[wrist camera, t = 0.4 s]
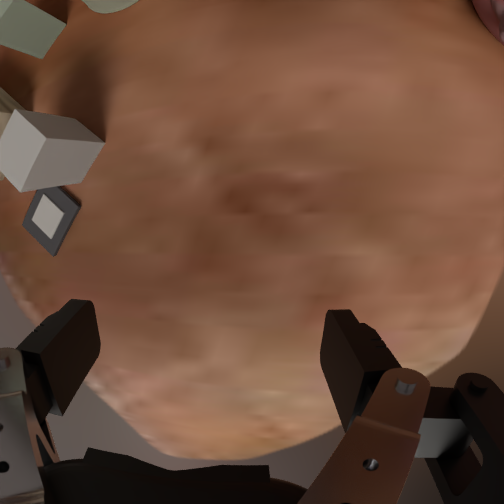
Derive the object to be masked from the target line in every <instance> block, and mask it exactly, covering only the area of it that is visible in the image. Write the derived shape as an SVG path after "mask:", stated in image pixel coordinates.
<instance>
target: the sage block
mask: <svg viewBox="0 0 504 504" xmlns="http://www.w3.org/2000/svg"><path fill="white" fill-rule="evenodd" d="M66 25H67V24H65V23H63V22H62V21H60V20H58V19H56V18H55V17H53V16H51V15H50V14H48V13H46V12H44V11H42V10H41V9H39V8H37V7H35V6H33V5H32V4H30V3H28V2H26V1H24V0H0V45H3V46H6V47H9V48H12V49H15V50H18V51H21V52H24V53H26V54H29V55H32V56H35V57H37V58H40V59H43V57H44V56H45V54H46V53H47V51H48V50H49V48H50V47H51V45H52V44H53V43H54V41H55V40H56V38H57V37H58V36H59V34H60V33H61V31H62V30H63V29H64V27H65V26H66Z"/></svg>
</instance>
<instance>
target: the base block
mask: <svg viewBox="0 0 504 504" xmlns="http://www.w3.org/2000/svg"><path fill="white" fill-rule="evenodd" d="M15 109H19V110H25V109H24V108H23V107H22V106H21V105H20V104H19V103H18V102H16V101H15V100H14V99H13V98H12V97H11V96H10V95H9V94H8V93H6V92H5V91H4V90H3V89H2V88H1V87H0V138H1V136H2V134H3V132H4V130H5V128H6V126H7V124H8V122H9V120H10V118H11V116H12V114H13V112H14V110H15ZM26 111H27V110H26ZM4 176H5V175H4V174H3V173H2V172H1V171H0V180H3V179H4Z"/></svg>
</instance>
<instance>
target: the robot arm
mask: <svg viewBox="0 0 504 504" xmlns="http://www.w3.org/2000/svg"><path fill="white" fill-rule="evenodd" d="M100 346H101V343H100V336H99V331H98V326H97V320H96V314H95V308H94V305H93V303H92V301H89V300H78V299H71V300H69V301H68V302H67V303H66V304H65V305H64V306H63V307H62V308H61V309H60V310H59V311H58V312H56V313H54V314H52V315H50V316H48V317H47V318H46V319H45V320H44V321H43V322H42V323H41V324H40V326H39V325H38V326H37V327H36V329H34V332H31V333H30V334H29V336H27V337H26V338H25V340H24V341H23V342H22V343H21V344H20V345H19V346H18V347H17V348H16V349H14V348H0V504H396V503H397V501H398V498H399V496H400V494H401V491H402V489H403V486H404V484H405V481H406V478H407V476H408V473H409V470H410V467H411V465H412V462H413V459H414V457H420V458H422V457H423V458H425V461H426V463H427V465H428V467H429V469H430V472H431V474H432V476H433V479H434V481H435V483H436V486H437V488H438V490H439V493H440V495H441V497H442V500H443V502H444V504H504V394H503V392H502V391H501V390H500V389H499V388H498V386H497V385H496V384H495V383H494V382H493V381H492V380H491V379H489V378H488V377H486V376H484V375H481V374H477V373H465V374H463V375H461V376H459V377H458V379H457V381H456V383H455V386H454V388H443V387H431V386H430V382H429V380H428V379H427V378H426V377H425V376H424V375H423V374H421V373H419V372H417V371H415V370H412V369H408V368H402V367H401V365H400V364H399V363H398V361H397V360H396V358H395V357H394V355H393V354H392V353H391V351H390V350H389V348H388V347H386V344H385V343H384V341H383V340H381V337H380V336H379V334H378V333H377V332H376V330H374V329H373V328H371V327H370V326H368V325H367V324H365V323H359V321H358V320H357V319H356V317H355V316H354V314H353V313H352V311H351V310H350V309H346V310H328V311H327V313H326V318H325V324H324V331H323V337H322V343H321V349H320V363H321V367H322V370H323V373H324V376H325V378H326V381H327V384H328V387H329V389H330V392H331V395H332V398H333V400H334V403H335V406H336V409H337V412H338V414H339V417H340V420H341V423H342V426H343V428H344V431H345V435H344V437H343V439H342V440H341V442H340V443H339V445H338V447H337V448H336V450H335V451H334V453H333V454H332V456H331V457H330V459H329V460H328V462H327V463H326V465H325V466H324V468H323V469H322V470H321V472H320V473H319V475H318V476H317V478H316V479H315V480H314V482H313V483H312V484H311V486H310V487H309V489H306V488H303V487H301V486H299V485H296V484H294V483H291V482H288V481H284V480H280V479H275V478H270V474H269V466H268V465H250V466H249V465H247V466H246V465H218V466H211V467H204V468H196V469H188V470H178V471H172V470H167V469H164V468H161V467H158V466H155V465H152V464H149V463H147V462H144V461H141V460H139V459H136V458H133V457H131V456H128V455H122V454H117V453H112V452H107V451H102V450H98V449H93V448H88V449H87V451H86V454H85V456H84V458H83V459H72V460H65V461H60V458H59V455H58V452H57V450H56V447H55V443H54V440H53V437H52V433H51V430H50V426H49V423H48V421H47V419H46V416H47V414H48V413H52V414H55V415H59V416H63V414H64V413H65V411H66V409H67V407H68V406H69V404H70V402H71V401H72V399H73V397H74V396H75V394H76V392H77V390H78V389H79V387H80V385H81V384H82V382H83V380H84V379H85V377H86V376H87V374H88V372H89V371H90V369H91V367H92V366H93V364H94V363H95V361H96V359H97V358H98V356H99V353H100ZM473 439H474V441H475V442H476V444H477V445H478V447H479V449H480V450H481V452H482V455H483V465H482V467H481V465H480V463H479V461H478V460H477V458H476V456H475V454H474V453H473V451H472V449H471V448H470V446H469V445H470V444H471V442H472V441H473Z"/></svg>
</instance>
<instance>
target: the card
mask: <svg viewBox="0 0 504 504" xmlns="http://www.w3.org/2000/svg"><path fill="white" fill-rule="evenodd" d="M80 208H81V205H80V204H78V203H77V202H76V201H75V200H74V199H73V198H72V197H71V196H70V195H69V194H67V193H66V192H65V191H64V190H63V189H62V188H61V187H60V186H56V187H49V188H43V189H38V190H37V192H36V194H35V196H34V198H33V200H32V203H31V205H30V207H29V209H28V212H27V214H26V216H25V219H24V221H23V224H22V225H23V227H24V228H25V229H26V230H27V231H28V232H29V233H30V234H31V235H32V236H33V237H34V238H35V239H36V240H37V241H38V242H39V243H40V244H41V245H42V246H43V247H44V248H45V249H46V250H47V251H48V252H49V253H50V254H51V255H52V256H53V257H54V256H56V255H57V253H58V250H59V248H60V246H61V244H62V242H63V240H64V238H65V236H66V234H67V232H68V231H69V229H70V227H71V225H72V223H73V221H74V219H75V217H76V215H77V214H78V212H79V210H80Z"/></svg>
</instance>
